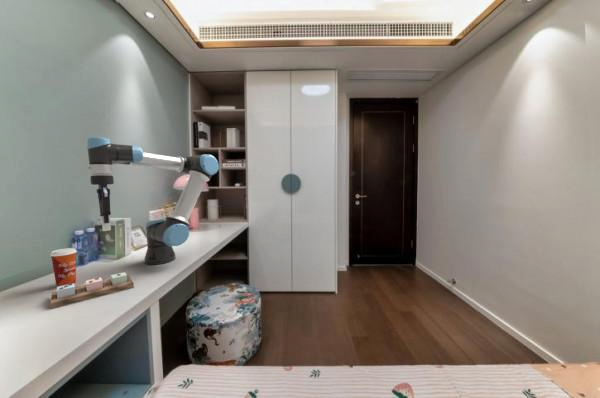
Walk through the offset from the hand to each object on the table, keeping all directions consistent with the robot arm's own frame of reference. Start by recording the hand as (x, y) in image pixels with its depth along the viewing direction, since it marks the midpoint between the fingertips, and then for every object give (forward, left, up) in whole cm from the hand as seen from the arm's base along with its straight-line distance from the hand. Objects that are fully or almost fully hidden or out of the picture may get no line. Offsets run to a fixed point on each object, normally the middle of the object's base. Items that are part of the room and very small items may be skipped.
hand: (106, 230), depth 104 cm
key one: (-2, +7, -22) cm, 23 cm away
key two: (+6, +7, -22) cm, 23 cm away
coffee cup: (+14, -12, -23) cm, 29 cm away
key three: (+14, +7, -22) cm, 26 cm away
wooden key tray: (+6, +7, -23) cm, 25 cm away
